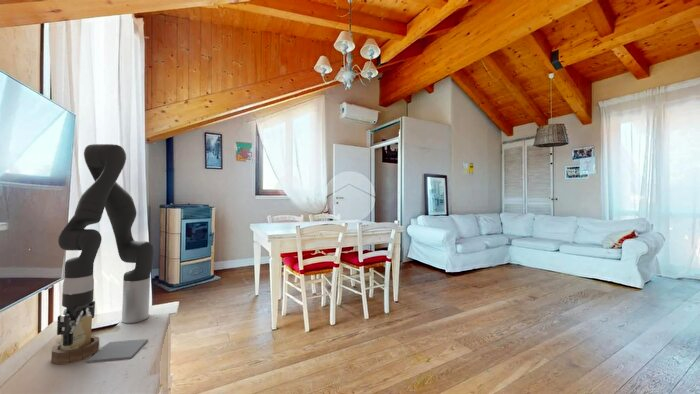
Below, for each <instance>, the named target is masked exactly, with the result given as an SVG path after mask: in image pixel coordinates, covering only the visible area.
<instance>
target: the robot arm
mask: <svg viewBox="0 0 700 394" xmlns="http://www.w3.org/2000/svg"><path fill="white" fill-rule="evenodd" d="M83 158H84V162H85V164H86V166H87V169H88V170H89V172H90V175H91V176H92V179H93V180H94V182H93V183H92V184H91V185H89V187H87V189H86V190H84V192H83V193H82V194H81V196H80V197H79V200H78V202H77V205H76V208H75V211H74V214H73V216H72V217H71V218H70V219H69V221H68V223H67V224H66V225H65V226H64V228H63V229H62V230H61V232H60V233H59V236H58V239H57V242H58V246H59V247H60V248H61V250H64V251H80V252H81V253H80V254H79V256H76V257H70V258H68V259H67V260H66V261H65V263H64V276H63V277H64V278H63V283H62V293H61V294H62V296H61V297H62V298H61V306H62V307H63V308H65V309H66V308H67V310H66V313H65V314H64V315H63V314H60V315H58V316H57V320H56V321H57V322H56V323H57V324H56V326H57V330H56V335H57V336H61V335H63V346H70V345H72V344H73V331H74V328H75V326H77V325H78V322H79V320H80V318H81V317H83V316H84V315H88V314H89V315H90V313H89V312H91V315H92V319H94V318H95V309H96V308H95V307H96V301H95V300H94V289H95V287H94V285H95V279H94V266H95V263H94V262H95V260H96V257H97V254H98V252H99V249H100V247H101V244H102V235H101V233H100V231H98V230H97V229H94V228H93V229H92V228H86V227H88V226H90V225H94V224H98V223H100V222H101V220H102V217H103V214H104V211H105V212H106V215H107V217H108V219H109V222H110V225H111V229H112V231H113V235H114V238H115V243H116V248H117V252H118V256H119V258H120V260H121V261H122V262H124V263H127V264H128V263H129V264H135V266H134V269H132V270H128V271H126V272H125V273H124V274H123V280H122V283H123V285H122V304H121V305H122V308H121V310H122V311H121V323H123V324H134V323H139V322H142V321H145V320H147V319H148V318H149V317H150V316H149V315H150V313H149V312H150V291H151V290H150V288H151V285H150V283H151V272H152V269H153V262H154V245H153V244H152V242H150V241H145V240H144V241H143V240H142V241H141V240H139V241H138V240H134V237H133V234H132V227H133V225H134V222H135V220H136V216H137V209H136V205H135V202H134V199H133V197H132V195H131V194H130V193H129V192H128V191H127V190H126V189H125V188H124V187H123V186H121V184H119V183H118V182H117V181H118V178H119V176H120V174H121V173H122V170H123V169H124V167H125V165H126V160H127V153H126V150H125V149H124V148H123V147H122V146H121V145H119V144H112V143H109V144H108V143H105V144H103V143H101V144H100V143H97V144H95V143H93V144H88V145H86V146H85V148H84V150H83ZM74 320H75V322H74V323H70V321H74ZM69 326H71V328H70V330H69ZM62 327H63V330H62Z"/></svg>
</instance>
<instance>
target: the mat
mask: <svg viewBox="0 0 700 394" xmlns="http://www.w3.org/2000/svg"><path fill="white" fill-rule="evenodd" d="M148 341H149V339H148V338H147V339H146V338H145V339H133V340H123V341H122V340H121V341H119V340H118V341H110V342H108V343H106V344H105V345H104V346H103V347H102V348H101V349H99V351H98V352H96V353H95V354H94V355H92V356H90V357H89V358H88V360H87V363H95V362H108V361H119V360H121V361H122V360H128V359H129V360H130V359H133V357H134V356H135V355H136V354H137V353H139V351H140V350H141V349H142V347H144V345H146V343H147V342H148Z"/></svg>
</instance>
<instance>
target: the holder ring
mask: <svg viewBox="0 0 700 394" xmlns="http://www.w3.org/2000/svg"><path fill="white" fill-rule="evenodd" d="M60 349H61V342H59V343H57V344H55V345H54V346H53V347H52V348H51V359H50V361H51V363H53V364H56V365H65V364H72V363H76V362H78V361H79V362H80V361H84V360H85V359H89V358H91V357H92V356H93V355H95V354H96V353H97V352H98V351H99V350H100V337H99V336H96V335H91V343H90V344H89V345H87V346H84V347H82V348H78V349H74V350H67V351H61V350H60Z"/></svg>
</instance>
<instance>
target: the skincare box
mask: <svg viewBox="0 0 700 394" xmlns="http://www.w3.org/2000/svg"><path fill="white" fill-rule="evenodd" d="M74 322H75V320H74V321H70V323H74ZM92 323H93V318H92V315H89V314H88V315H84V316H83V317H81V318H80V320H79V322H78V325H77V326H75V328H74V331H73V344H72V345H70V346H63V335H60V336H61V338H60V339H61V340H60V343H61V349H60V350H61V351H67V350H74V349H78V348H82V347H84V346H87V345H89V344H90V343H91V336H92ZM70 328H71V326H69V330H70ZM62 330H63V327H62Z"/></svg>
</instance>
